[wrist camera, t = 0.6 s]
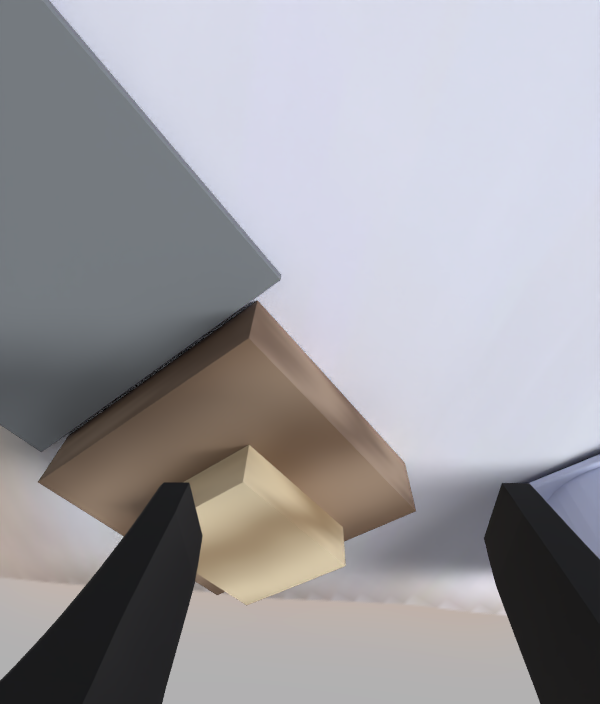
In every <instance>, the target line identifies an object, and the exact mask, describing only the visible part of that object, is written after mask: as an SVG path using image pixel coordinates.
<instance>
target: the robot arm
mask: <svg viewBox="0 0 600 704" xmlns="http://www.w3.org/2000/svg"><path fill="white" fill-rule="evenodd" d="M202 537H203V535H202V531H201V527H200V523H199V519H198V515H197V511H196V507H195V503H194V499H193V495H192V491H191V487H190V483H189V482H164V483H163V484H162V485H160V487H159V488H158V490H157V491H156V492H155V494H154V495H153V497H152V498H151V500H150V501H149V503H148V504H147V505H146V507H145V508H144V510H143V511H142V512H141V514H140V515H139V517H138V518H137V519H136V521H135V522H134V524H133V525H132V526H131V528H130V529H129V530H128V532H127V533H126V535H125V536H124V537H123V539H122V540H121V541H120V543H119V544H118V545H117V546H116V548H115V549H114V550H113V552H112V553H111V554H110V556H109V557H108V558H107V559H106V561H105V562H104V563H103V565H102V566H101V567H100V569H99V570H98V571H97V572H96V574H95V575H94V576H93V577H92V579H91V580H90V581H89V582H88V583H87V585H86V586H85V587H84V588H83V589H82V591H81V592H80V593H79V594H78V596H77V597H76V598H75V599H74V600H73V601H72V603H71V604H70V605H69V606H68V607H67V609H66V610H65V611H64V612H63V613H62V615H61V616H60V617H59V618H58V619H57V620H56V622H55V623H54V624H53V625H52V626H51V627H50V628H49V629H48V630H47V632H46V633H45V634H44V635H43V636H42V637H41V638H40V639H39V641H38V642H37V643H36V644H35V645H34V646H33V647H32V648H31V649H30V650H29V651H28V652H27V653H26V654H25V656H24V657H23V658H22V659H21V660H20V661H19V662H18V663H17V664H16V665H15V666H14V667H13V668H12V669H11V670H10V671H9V672H8V674H6V675H5V676H4V677H3V679H1V680H0V704H162V702H163V697H164V693H165V689H166V685H167V682H168V678H169V675H170V671H171V668H172V664H173V660H174V657H175V653H176V649H177V646H178V642H179V639H180V635H181V631H182V628H183V624H184V620H185V617H186V613H187V610H188V606H189V602H190V599H191V595H192V591H193V588H194V584H195V580H196V574H197V568H198V562H199V556H200V550H201V543H202ZM484 540H485V544H486V548H487V552H488V557H489V561H490V565H491V568H492V572H493V576H494V580H495V583H496V586H497V589H498V592H499V595H500V597H501V600H502V603H503V606H504V608H505V611H506V614H507V616H508V619H509V621H510V624H511V627H512V629H513V632H514V635H515V637H516V640H517V643H518V645H519V648H520V651H521V653H522V656H523V659H524V661H525V664H526V666H527V669H528V672H529V674H530V677H531V680H532V682H533V685H534V687H535V690H536V693H537V695H538V698H539V701H540V704H600V454H599V455H596V456H594V457H591V458H589V459H587V460H584V461H582V462H579V463H577V464H574V465H572V466H569V467H567V468H564V469H562V470H559V471H557V472H555V473H552V474H550V475H547V476H545V477H542V478H540V479H537V480H535V481H532V482H530V483H502V485H501V488H500V491H499V494H498V497H497V500H496V503H495V506H494V509H493V512H492V515H491V518H490V521H489V525H488V528H487V531H486V534H485V537H484Z"/></svg>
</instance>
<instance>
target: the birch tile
mask: <svg viewBox="0 0 600 704" xmlns="http://www.w3.org/2000/svg"><path fill="white" fill-rule="evenodd" d="M184 482H189V483H190V487H191V491H192V495H193V499H194V503H195V507H196V511H197V515H198V519H199V523H200V527H201V531H202V535H203V537H202V543H201V550H200V556H199V562H198V568H197V574H199V575H200V576H202V577H203V578H205V579H206V580H208V581H209V582H211V583H213V584H214V585H216V586H217V587H219V588H220V589H222V590H223V591H225V592H227V593H228V594H230V595H231V596H233V597H234V598H236V599H237V600H239V601H241V602H242V603H244V604H245V605H249V604H251V603H254V602H256V601H259V600H262V599H264V598H267V597H269V596H272V595H274V594H277V593H279V592H282V591H284V590H287V589H289V588H292V587H294V586H297V585H299V584H302V583H304V582H307V581H309V580H312V579H314V578H317V577H319V576H322V575H324V574H327V573H329V572H332V571H335V570H337V569H340V568H342V567H345V566H346V565H345V550H344V535H343V527H342V526H341V525H340V524H339V523H338V522H336V521H335V520H334V519H333V518H332V517H331V516H330V515H329V514H327V513H326V512H325V511H324V510H323V509H322V508H321V507H319V506H318V505H317V504H316V503H315V502H314V501H313V500H311V499H310V498H309V497H308V496H307V495H306V494H305V493H304V492H302V491H301V490H300V489H299V488H298V487H297V486H296V485H294V484H293V483H292V482H291V481H290V480H289V479H288V478H286V477H285V476H284V475H283V474H282V473H281V472H280V471H279V470H277V469H276V468H275V467H274V466H273V465H272V464H271V463H269V462H268V461H267V460H266V459H265V458H264V457H263V456H261V455H260V454H259V453H258V452H257V451H256V450H255V449H254V448H252V447H251V446H250V445H248V446H246V447H244V448H243V449H241V450H239V451H237V452H235V453H234V454H232V455H230V456H228V457H227V458H225V459H223V460H221V461H220V462H218V463H216V464H214V465H213V466H211V467H209V468H207V469H206V470H204V471H202V472H200V473H199V474H197V475H195V476H193V477H192V478H190V479H188V480H186V481H184Z"/></svg>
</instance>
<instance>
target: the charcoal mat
mask: <svg viewBox="0 0 600 704" xmlns="http://www.w3.org/2000/svg"><path fill="white" fill-rule="evenodd" d="M280 279H281V274H280V273H279V272H278V271H277V269H276V268H275V267H274V266H273V265H272V264H271V262H270V261H269V260H268V259H267V258H266V256H265V255H264V254H263V253H262V252H261V251H260V249H259V248H258V247H257V246H256V245H255V243H254V242H253V241H252V240H251V239H250V238H249V236H248V235H247V234H246V233H245V232H244V230H243V229H242V228H241V227H240V226H239V225H238V223H237V222H236V221H235V220H234V219H233V217H232V216H231V215H230V214H229V213H228V211H227V210H226V209H225V208H224V207H223V206H222V204H221V203H220V202H219V201H218V200H217V198H216V197H215V196H214V195H213V194H212V193H211V191H210V190H209V189H208V188H207V187H206V185H205V184H204V183H203V182H202V181H201V180H200V178H199V177H198V176H197V175H196V174H195V172H194V171H193V170H192V169H191V168H190V167H189V165H188V164H187V163H186V162H185V161H184V159H183V158H182V157H181V156H180V155H179V154H178V152H177V151H176V150H175V149H174V148H173V146H172V145H171V144H170V143H169V142H168V140H167V139H166V138H165V137H164V136H163V135H162V133H161V132H160V131H159V130H158V129H157V127H156V126H155V125H154V124H153V123H152V122H151V120H150V119H149V118H148V117H147V116H146V114H145V113H144V112H143V111H142V110H141V109H140V107H139V106H138V105H137V104H136V103H135V101H134V100H133V99H132V98H131V97H130V96H129V94H128V93H127V92H126V91H125V90H124V88H123V87H122V86H121V85H120V84H119V83H118V81H117V80H116V79H115V78H114V77H113V75H112V74H111V73H110V72H109V71H108V69H107V68H106V67H105V66H104V65H103V64H102V62H101V61H100V60H99V59H98V58H97V56H96V55H95V54H94V53H93V52H92V51H91V49H90V48H89V47H88V46H87V45H86V43H85V42H84V41H83V40H82V39H81V38H80V36H79V35H78V34H77V33H76V32H75V30H74V29H73V28H72V27H71V26H70V25H69V23H68V22H67V21H66V20H65V19H64V17H63V16H62V15H61V14H60V13H59V12H58V10H57V9H56V8H55V7H54V6H53V4H52V3H51V2H50V1H49V0H0V425H1V426H3V427H4V428H6V429H7V430H9V431H10V432H12V433H13V434H15V435H16V436H18V437H19V438H21V439H22V440H24V441H25V442H27V443H28V444H30V445H31V446H33V447H34V448H36V449H37V450H39V451H40V452H42V451H44V450H45V449H46V448H48V447H49V446H51V445H52V444H53V443H55V442H56V441H58V440H59V439H60V438H62V437H63V436H64V435H66V434H67V433H69V432H70V431H71V430H73V429H74V428H76V427H77V426H78V425H80V424H81V423H83V422H84V421H85V420H87V419H88V418H89V417H91V416H92V415H94V414H95V413H96V412H98V411H99V410H101V409H102V408H103V407H105V406H106V405H107V404H109V403H110V402H112V401H113V400H114V399H116V398H117V397H119V396H120V395H121V394H123V393H124V392H126V391H127V390H128V389H130V388H131V387H132V386H134V385H135V384H137V383H138V382H139V381H141V380H142V379H144V378H145V377H146V376H148V375H149V374H151V373H152V372H153V371H155V370H156V369H157V368H159V367H160V366H162V365H163V364H164V363H166V362H167V361H169V360H170V359H171V358H173V357H174V356H176V355H177V354H178V353H180V352H181V351H182V350H184V349H185V348H187V347H188V346H189V345H191V344H192V343H194V342H195V341H196V340H198V339H199V338H201V337H202V336H203V335H205V334H206V333H207V332H209V331H210V330H212V329H213V328H214V327H216V326H217V325H219V324H220V323H221V322H223V321H224V320H225V319H227V318H228V317H230V316H231V315H232V314H234V313H235V312H237V311H238V310H239V309H241V308H242V307H244V306H245V305H246V304H248V303H249V302H250V301H252V300H253V299H255V298H256V297H257V296H259V295H260V294H262V293H263V292H264V291H266V290H267V289H269V288H270V287H271V286H273V285H274V284H275V283H277V282H278V281H280Z"/></svg>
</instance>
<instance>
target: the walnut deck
mask: <svg viewBox="0 0 600 704" xmlns="http://www.w3.org/2000/svg"><path fill="white" fill-rule="evenodd" d="M248 445H250V446H251V447H252V448H254V449H255V450H256V451H257V452H258V453H259V454H260V455H261V456H263V457H264V458H265V459H266V460H267V461H268V462H269V463H271V464H272V465H273V466H274V467H275V468H276V469H277V470H279V471H280V472H281V473H282V474H283V475H284V476H285V477H286V478H288V479H289V480H290V481H291V482H292V483H293V484H294V485H296V486H297V487H298V488H299V489H300V490H301V491H302V492H304V493H305V494H306V495H307V496H308V497H309V498H310V499H311V500H313V501H314V502H315V503H316V504H317V505H318V506H319V507H321V508H322V509H323V510H324V511H325V512H326V513H327V514H329V515H330V516H331V517H332V518H333V519H334V520H335V521H336V522H338V523H339V524H340V525H341V526H342V527H343V535H344V541H346V540H349V539H351V538H354V537H356V536H358V535H361V534H363V533H365V532H368V531H370V530H373V529H375V528H377V527H380V526H382V525H384V524H387V523H389V522H391V521H394V520H396V519H399V518H401V517H403V516H406V515H408V514H410V513H413V512H415V511H416V509H415V505H414V501H413V496H412V492H411V488H410V483H409V479H408V475H407V471H406V466H405V463H404V462H403V461H402V459H401V458H400V457H399V456H398V455H397V454H396V453H395V452H394V451H393V450H392V448H391V447H390V446H389V445H388V444H387V443H386V442H385V441H384V440H383V438H382V437H381V436H380V435H379V434H378V433H377V432H376V431H375V430H374V429H373V427H372V426H371V425H370V424H369V423H368V422H367V421H366V420H365V419H364V418H363V416H362V415H361V414H360V413H359V412H358V411H357V410H356V409H355V408H354V406H353V405H352V404H351V403H350V402H349V401H348V400H347V399H346V398H345V397H344V395H343V394H342V393H341V392H340V391H339V390H338V389H337V388H336V387H335V385H334V384H333V383H332V382H331V381H330V380H329V379H328V378H327V377H326V376H325V374H324V373H323V372H322V371H321V370H320V369H319V368H318V367H317V366H316V365H315V363H314V362H313V361H312V360H311V359H310V358H309V357H308V356H307V355H306V353H305V352H304V351H303V350H302V349H301V348H300V347H299V346H298V345H297V344H296V342H295V341H294V340H293V339H292V338H291V337H290V336H289V335H288V334H287V332H286V331H285V330H284V329H283V328H282V327H281V326H280V325H279V324H278V323H277V321H276V320H275V319H274V318H273V317H272V316H271V315H270V314H269V313H268V312H267V310H266V309H265V308H264V307H263V306H262V305H261V304H260V303H259V302H258V301H256V302H255V303H254V304H252V305H251V306H249V307H248V308H247V309H245V310H244V311H242V312H241V313H240V314H238V315H237V316H235V317H234V318H233V319H231V320H230V321H228V322H227V323H226V324H224V325H223V326H221V327H220V328H219V329H217V330H216V331H214V332H213V333H212V334H210V335H209V336H207V337H206V338H205V339H203V340H202V341H200V342H199V343H198V344H196V345H195V346H193V347H192V348H191V349H189V350H188V351H186V352H185V353H184V354H182V355H181V356H179V357H178V358H177V359H175V360H174V361H173V362H171V363H170V364H168V365H167V366H166V367H164V368H163V369H161V370H160V371H159V372H157V373H156V374H154V375H153V376H152V377H150V378H149V379H147V380H146V381H145V382H143V383H142V384H140V385H139V386H138V387H136V388H135V389H133V390H132V391H131V392H129V393H128V394H126V395H125V396H124V397H122V398H121V399H119V400H118V401H117V402H115V403H114V404H112V405H111V406H110V407H108V408H107V409H105V410H104V411H103V412H101V413H100V414H98V415H97V416H96V417H94V418H93V419H91V420H90V421H89V422H87V423H86V424H85V425H83V426H82V427H80V428H79V429H78V430H76V431H75V432H73V433H72V434H71V435H69V436H68V437H67V439H66V440H65V442H64V443H63V445H62V446H61V448H60V449H59V451H58V452H57V454H56V455H55V457H54V458H53V460H52V462H51V463H50V465H49V466H48V468H47V469H46V471H45V472H44V474H43V475H42V477H41V478H40V480H39V481H38V483H40V484H42V485H43V486H45V487H46V488H48V489H50V490H51V491H53V492H54V493H56V494H58V495H59V496H61V497H62V498H64V499H65V500H67V501H69V502H70V503H72V504H73V505H75V506H77V507H78V508H80V509H81V510H83V511H84V512H86V513H88V514H89V515H91V516H92V517H94V518H96V519H97V520H99V521H100V522H102V523H104V524H105V525H107V526H108V527H110V528H111V529H113V530H115V531H116V532H118V533H119V534H121V535H123V536H125V535H126V533H127V532H128V530H129V529H130V528H131V526H132V525H133V524H134V522H135V521H136V519H137V518H138V517H139V515H140V514H141V512H142V511H143V510H144V508H145V507H146V505H147V504H148V503H149V501H150V500H151V498H152V497H153V495H154V494H155V492H156V491H157V490H158V488H159V487H160V485H162V484H163V483H164V482H184V481H186V480H188V479H190V478H192V477H193V476H195V475H197V474H199V473H200V472H202V471H204V470H206V469H207V468H209V467H211V466H213V465H214V464H216V463H218V462H220V461H221V460H223V459H225V458H227V457H228V456H230V455H232V454H234V453H235V452H237V451H239V450H241V449H243V448H244V447H246V446H248ZM195 581H196V582H197V583H199V584H200V585H202V586H204V587H205V588H207V589H208V590H210V591H211V592H213V593H215V594H216V595H219V594H221V593H223V592H225V591H223V590H222V589H220V588H219V587H217V586H216V585H214V584H213V583H211V582H209V581H208V580H206V579H205V578H203V577H202V576H200V575H199V574H196V580H195Z"/></svg>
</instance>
